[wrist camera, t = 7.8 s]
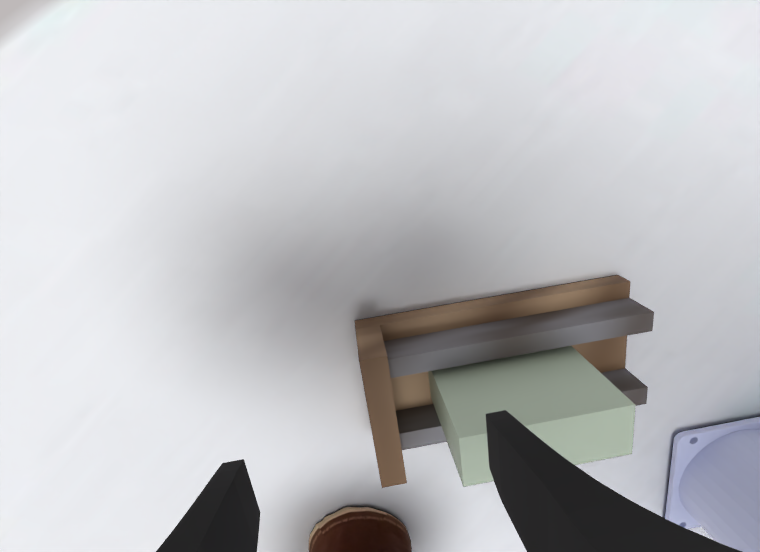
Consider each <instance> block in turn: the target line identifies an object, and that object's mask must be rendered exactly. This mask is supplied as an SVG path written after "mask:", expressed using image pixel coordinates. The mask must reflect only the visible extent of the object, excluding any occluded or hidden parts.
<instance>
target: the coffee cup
mask: <svg viewBox="0 0 760 552" xmlns="http://www.w3.org/2000/svg"><path fill="white" fill-rule="evenodd" d="M309 552H412V551H411V540H410V538H409V535H408V531H407V529H406V527H405V526H404V524H403V523H402V522H400V521H399V520H398V519H397V518H395V517H394V516H392V515H390V514H388V513H386V512H383V511H380V510H376V509H373V508H370V507H362V508H357V507H346V508H343V509H341V510H339V511H337V512H336V513H334V514H331V515H328V516H326V517H324V519H323V520H322V522H319V523H317V524H316V525H315V528H314V529H313V531H312V532H311V534H310V538H309Z"/></svg>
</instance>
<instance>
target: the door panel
mask: <svg viewBox="0 0 760 552" xmlns="http://www.w3.org/2000/svg"><path fill="white" fill-rule="evenodd" d="M428 376H429V384H430V393H431V399H432V402H433V404H434V407H435V410H436V413H437V415H438V418H439V421H440V424H441V426H442V429H443V432H444V434H445V437H446V440H447V443H448V445H449V448H450V451H451V454H452V456H453V459H454V462H455V465H456V467H457V470H458V473H459V476H460V478H461V481H462V484H463V487H466V486H471V485H476V484H481V483H486V482H491V481H494V479H493V477H492V474H491V471H490V468H489V456H488V442H487V427H486V414H487V413H493V412H498V411H503V410H506V411H507V412H509V413H510V414H511V415H512V416H514V417H515V418H516V419H517V420H518V421H519V422H521V423H522V424H523V425H524V426H525V427H526V428H528V429H529V430H530V431H531V432H532V433H534V434H535V435H536V436H537V437H538V438H540V439H541V440H542V441H543V442H545V443H546V444H547V445H548V446H550V447H551V448H552V449H554V450H555V451H556V452H558V453H559V454H560V455H561V456H563V457H564V458H565V459H567V460H568V461H569V462H571V463H572V464H574V465H578V464H583V463H588V462H593V461H598V460H603V459H608V458H614V457H619V456H624V455H629V454H632V445H633V432H634V418H635V404H634V403H633V402H632V401H631V400H630V399H629V398H628V397H626V396H625V395H624V394H623V393H622V392H621V391H620V390H619V389H618V388H617V387H616V386H614V385H613V384H612V383H611V382H610V381H609V380H608V379H607V378H606V377H605V376H604V375H603V374H601V373H600V372H599V371H598V370H597V369H596V368H595V367H594V366H593V365H592V364H591V363H589V362H588V361H587V360H586V359H585V358H584V357H583V356H582V355H581V354H580V353H579V352H578V351H576V350H575V349H574V348H573V347H572V346H566V347H560V348H555V349H549V350H544V351H538V352H533V353H527V354H522V355H516V356H511V357H505V358H500V359H494V360H489V361H483V362H478V363H472V364H467V365H461V366H455V367H450V368H444V369H439V370H433V371H428Z"/></svg>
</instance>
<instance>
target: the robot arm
mask: <svg viewBox="0 0 760 552" xmlns="http://www.w3.org/2000/svg"><path fill="white" fill-rule="evenodd" d="M486 427H487V442H488V456H489V468H490V471H491V474H492V477H493V479H494V482H495V485H496V487H497V490H498V493H499V495H500V498H501V500H502V503H503V505H504V507H505V509H506V511H507V513H508V515H509V517H510V519H511V521H512V523H513V525H514V527H515V529H516V531H517V533H518V535H519V537H520V538H521V540H522V542H523V544H524V546H525V548H526V550H527V552H760V417H755V418H750V419H745V420H740V421H735V422H730V423H724V424H719V425H714V426H709V427H704V428H699V429H694V430H688V431H683V432H680V433H678V434H677V435H676V436H675V438H674V443H673V452H672V461H671V469H670V478H669V487H668V496H667V505H666V514H665V518H663V517H661V516H659V515H657V514H655V513H653V512H651V511H649V510H647V509H645V508H643V507H641V506H639V505H638V504H636V503H634V502H632V501H630V500H629V499H627V498H625V497H623V496H622V495H620V494H618V493H617V492H615V491H613V490H612V489H610V488H608V487H607V486H605V485H603V484H602V483H600V482H598V481H597V480H595V479H594V478H592V477H591V476H589V475H588V474H586V473H585V472H584V471H582V470H581V469H579V468H578V467H576V466H575V465H574V464H572V463H571V462H569V461H568V460H567V459H565V458H564V457H563V456H561V455H560V454H559V453H558V452H556V451H555V450H554V449H552V448H551V447H550V446H548V445H547V444H546V443H545V442H543V441H542V440H541V439H540V438H538V437H537V436H536V435H535V434H534V433H532V432H531V431H530V430H529V429H528V428H526V427H525V426H524V425H523V424H522V423H521V422H519V421H518V420H517V419H516V418H515V417H514V416H512V415H511V414H510V413H509V412H507V411H506V410H503V411H498V412H493V413H487V414H486ZM259 521H260V510H259V507H258V504H257V501H256V497H255V494H254V491H253V488H252V485H251V481H250V478H249V475H248V472H247V469H246V465H245V462H244V459H243V460H237V461H232V462H227V463H222V465H221V466H220V467H219V469H218V470H217V471H216V473H215V474H214V475H213V477H212V478H211V480H210V481H209V482H208V484H207V485H206V487H205V488H204V489H203V491H202V492H201V494H200V495H199V496H198V498H197V499H196V501H195V502H194V503H193V505H192V506H191V507H190V509H189V510H188V511H187V513H186V514H185V515H184V517H183V518H182V519H181V521H180V522H179V523H178V525H177V526H176V527H175V529H174V530H173V531H172V533H171V534H170V535H169V536H168V538H167V539H166V540H165V541H164V543H163V544H162V545H161V546H160V547H159V549H158V550H157V551H156V552H257V543H258V533H259ZM700 526H702V527H703V529H704V530H705V531H706V532H707V533H708V534H709V535H710V536H711V537H712V538H713V539H714V540H715V541H714V540H711V539H709V538H707V537H704V536H702V535H700V534H697V533H695V532H693V531H690V530H688V529H690V528H695V527H700Z"/></svg>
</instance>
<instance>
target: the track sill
mask: <svg viewBox="0 0 760 552" xmlns="http://www.w3.org/2000/svg"><path fill="white" fill-rule="evenodd" d="M629 294H630V281H629V280H627V279H625V278H623V277H621V276H619V275H615V276H609V277H603V278H597V279H592V280H586V281H580V282H574V283H569V284H563V285H557V286H551V287H546V288H540V289H534V290H528V291H523V292H517V293H511V294H505V295H499V296H494V297H488V298H482V299H476V300H471V301H465V302H459V303H453V304H448V305H442V306H436V307H430V308H425V309H419V310H413V311H407V312H401V313H396V314H390V315H384V316H378V317H373V318H367V319H361V320H355V329H356V337H357V346H358V354H359V362H360V368H361V373H362V379H363V384H364V390H365V396H366V401H367V407H368V412H369V418H370V423H371V429H372V435H373V440H374V446H375V451H376V457H377V462H378V468H379V474H380V479H381V485H382V488H384V487H389V486H394V485H399V484H404V483H407V481H406V475H405V468H404V462H403V455H402V450H405V449H410V448H416V447H421V446H426V445H431V444H437V443H442V442H447V440H446V437H445V434H444V432H443V429H442V426H441V424H440V421H439V418H438V415H437V413H436V410H435V407H434V404H433V402H432V399H431V393H430V384H429V376H428V371H433V370H439V369H444V368H450V367H455V366H461V365H467V364H472V363H478V362H483V361H489V360H494V359H500V358H505V357H511V356H516V355H522V354H527V353H533V352H538V351H544V350H549V349H555V348H560V347H566V346H572V347H573V348H574V349H575V350H576V351H578V352H579V353H580V354H581V355H582V356H583V357H584V358H585V359H586V360H587V361H588V362H589V363H591V364H592V365H593V366H594V367H595V368H596V369H597V370H598V371H599V372H600V373H601V374H603V375H604V376H605V377H606V378H607V379H608V380H609V381H610V382H611V383H612V384H613V385H614V386H616V387H617V388H618V389H619V390H620V391H621V392H622V393H623V394H624V395H625V396H626V397H628V398H629V399H630V400H631V401H632V402H633V403H634V404H635V406H636V405H642V404H646V400H647V388H648V387H647V386H646V385H644V384H643V383H642V382H641V381H640V380H638V379H637V378H636V377H635V376H634V375H632V374H631V373H630V372H629V371H628V370H626V369H625V359H626V342H627V335H632V334H638V333H643V332H649V331H652V328H653V316H654V312H653V311H651V310H650V309H648V308H646V307H644V306H643V305H641V304H639V303H637V302H636V301H634V300H632V299H631V298H629Z"/></svg>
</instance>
